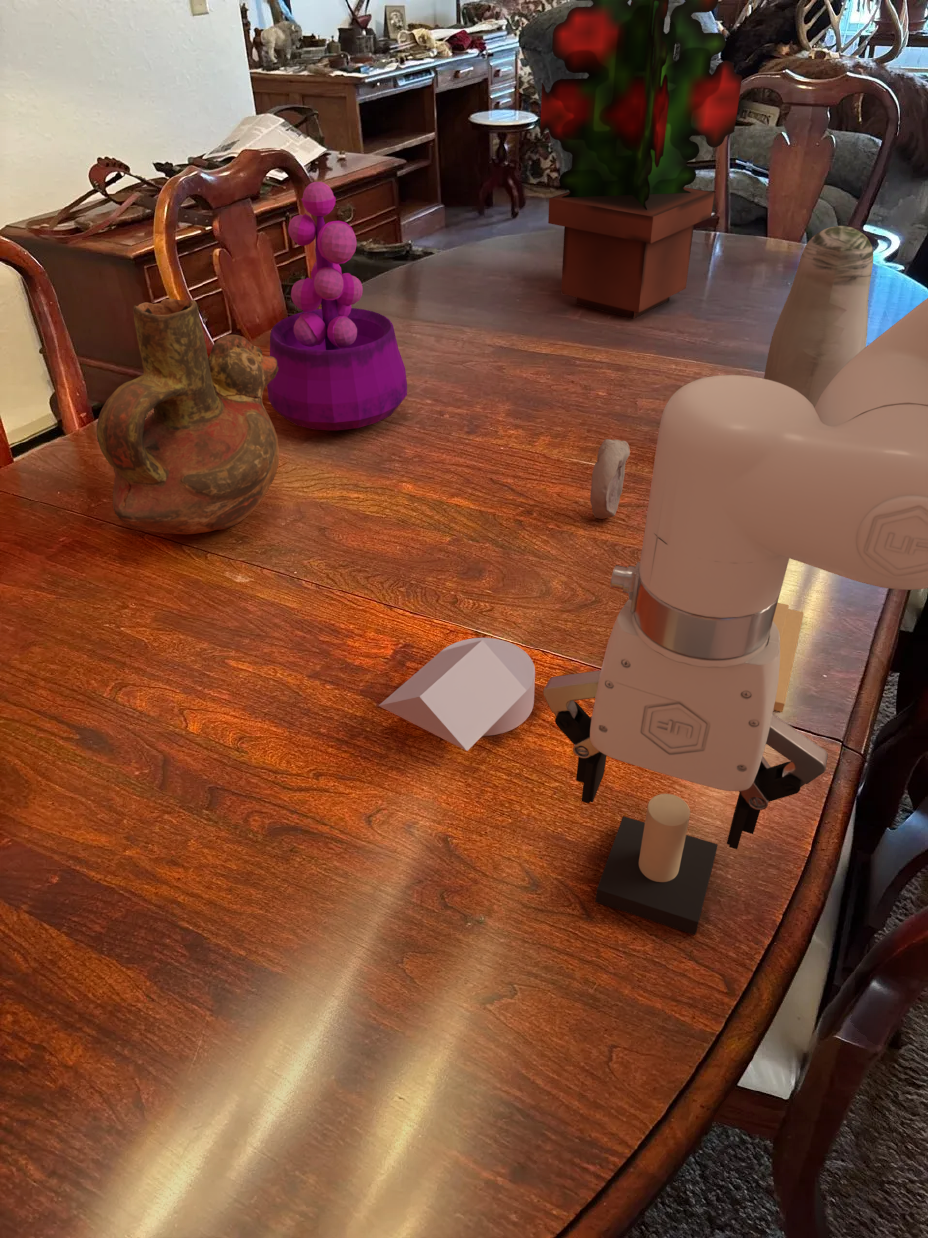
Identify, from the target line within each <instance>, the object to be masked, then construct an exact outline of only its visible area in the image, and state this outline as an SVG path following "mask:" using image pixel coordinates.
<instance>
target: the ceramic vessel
mask: <svg viewBox="0 0 928 1238" xmlns="http://www.w3.org/2000/svg"><path fill="white" fill-rule="evenodd" d="M132 309H133V311H132V312H133V321H134V327H135V333H136V338H137V344H138V350H139V354H140V358H141V364H142V369H143V374H141V375H140V376H138V377H136V378H134V379H131V380H129V381H126V382H124V383H122V384H121V385H120V386H118V387H117V388H116V389H115V390H114V391H113V392H112V393H111V394H110V396H109V397H108V398H107V400H106V401H105V403H104V404H103V406H102V408H101V410H100V412H99V415H98V418H97V422H96V439H97V442H98V445H99V448H100V451H101V454H102V455H103V457H104V458H105V460H106V461H107V463H108V464H109V465H110V467H112V469H113V472H114V482H113V489H112V508H113V511H114V514H115V515H116V516H117V518H118V519H119V520H120V521H122V522H123V523H124V524H126V525H128V526H131V527H133V528H137V529H141V530H146V531H152V532H157V533H164V534H175V535H194V534H203V533H209V532H213V531H221V530H225V529H228V528H232V527H234V526H236V525H238V524H239V523H241V522H242V521H244V520H245V519H247V518H248V517H249V516H250V515H251V514H252V513H253V512H254V510H255V509H256V508H257V507H258V506H259V504H260V503H261V502H262V501H263V500H264V498H265V497H266V494H267V493H268V491H269V490H270V488H271V485H272V483H273V481H274V480H275V477H276V475H277V471H278V467H279V464H280V447H279V439H278V435H277V432H276V429H275V426H274V424H273V422H272V420H271V417H270V415H269V414H268V411H267V409H266V408H265V405H264V402H263V394H264V393H263V392H264V390H265V389H266V388H267V385H268V384H269V383H270V381H271V380H272V379H274V378H275V376H276V374H277V372H278V369H279V368H278V367H277V360H276V358H274V357H272V356H270V355H269V356H268V355H267V356H266V355H263V351H262V349H261V348H260V347H259V346H256V345H253V344H252V343H251V342H250V341H249V340H248V339H247V338H246V337H244V336H241V335H239V334H226V335H223V336H222V337H220V338H218V339H217V340H216V341H215V342H214V344H213V345H212V348H211V350H210V354H209V355H208V349H207V345H206V340H205V335H204V334H205V333H204V330H203V326H202V322H201V317H200V311H199V305H198V302H197V301H196V300H194V299H191V300H184V299H176V298H163V299H162V300H161V301H160V302H159V303H152V302H148V301H147V302H143V303H139V304H138V305H133V307H132ZM152 410H153V412H152V413H151V414H150V415H149V416H148V414H149V413H150V412H151V411H152Z"/></svg>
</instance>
